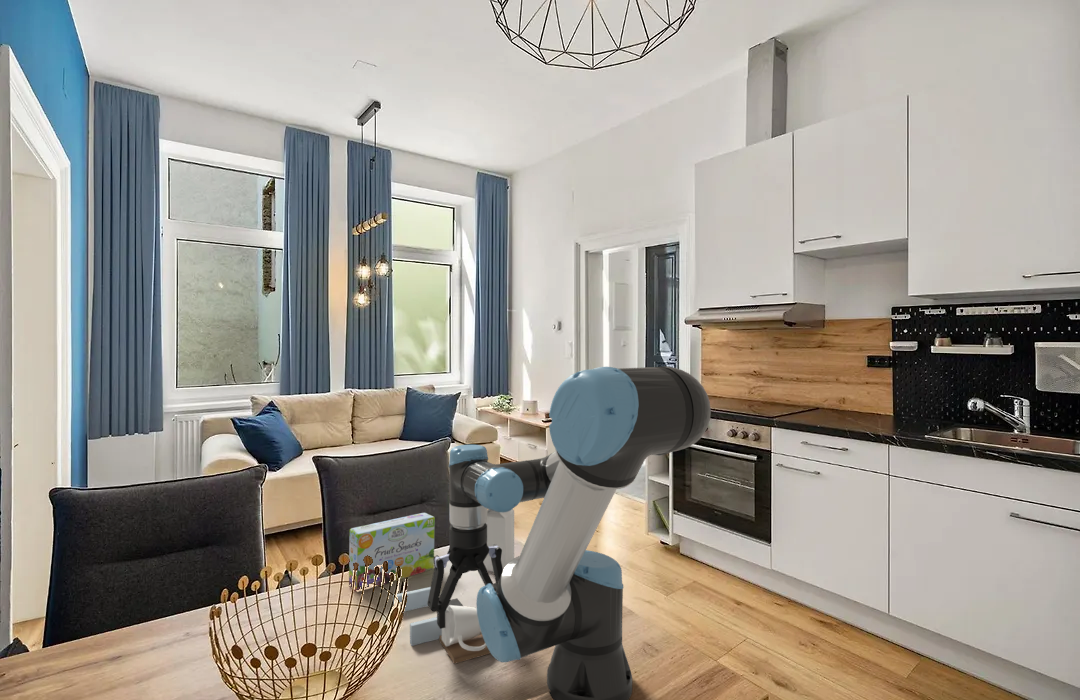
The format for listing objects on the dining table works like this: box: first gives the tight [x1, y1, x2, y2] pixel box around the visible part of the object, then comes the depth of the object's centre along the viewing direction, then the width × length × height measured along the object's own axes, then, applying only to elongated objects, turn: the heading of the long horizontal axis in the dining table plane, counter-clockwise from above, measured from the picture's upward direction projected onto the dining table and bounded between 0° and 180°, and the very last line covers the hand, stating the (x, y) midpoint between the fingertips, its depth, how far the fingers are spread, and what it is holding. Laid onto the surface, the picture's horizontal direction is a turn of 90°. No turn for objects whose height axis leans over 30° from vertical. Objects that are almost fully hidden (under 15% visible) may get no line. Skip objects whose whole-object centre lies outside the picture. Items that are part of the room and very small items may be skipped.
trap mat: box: [448, 598, 464, 606], centre depth 120 cm, size 13×4×1 cm, turn 28°
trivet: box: [438, 634, 491, 665], centre depth 108 cm, size 9×9×1 cm
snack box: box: [348, 512, 436, 592], centre depth 138 cm, size 21×6×15 cm, turn 132°
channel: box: [392, 586, 442, 647], centre depth 117 cm, size 15×10×4 cm, turn 28°
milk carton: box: [483, 508, 515, 573], centre depth 145 cm, size 7×7×19 cm
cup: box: [447, 605, 486, 651], centre depth 107 cm, size 7×10×8 cm
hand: (468, 636), depth 108 cm, fingers closed on cup, 9 cm apart
